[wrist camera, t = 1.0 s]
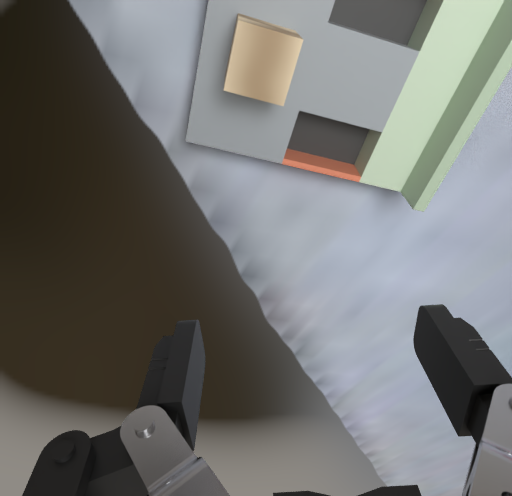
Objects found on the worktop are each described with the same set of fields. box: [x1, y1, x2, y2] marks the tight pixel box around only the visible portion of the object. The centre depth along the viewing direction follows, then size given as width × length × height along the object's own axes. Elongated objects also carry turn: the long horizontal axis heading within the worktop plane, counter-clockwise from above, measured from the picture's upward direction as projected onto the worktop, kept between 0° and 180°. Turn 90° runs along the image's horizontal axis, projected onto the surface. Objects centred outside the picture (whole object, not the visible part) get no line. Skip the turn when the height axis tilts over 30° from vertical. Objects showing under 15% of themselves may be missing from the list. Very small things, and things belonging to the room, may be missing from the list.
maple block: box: [224, 13, 303, 106], centre depth 25 cm, size 4×4×4 cm
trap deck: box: [186, 0, 512, 212], centre depth 28 cm, size 20×15×6 cm
